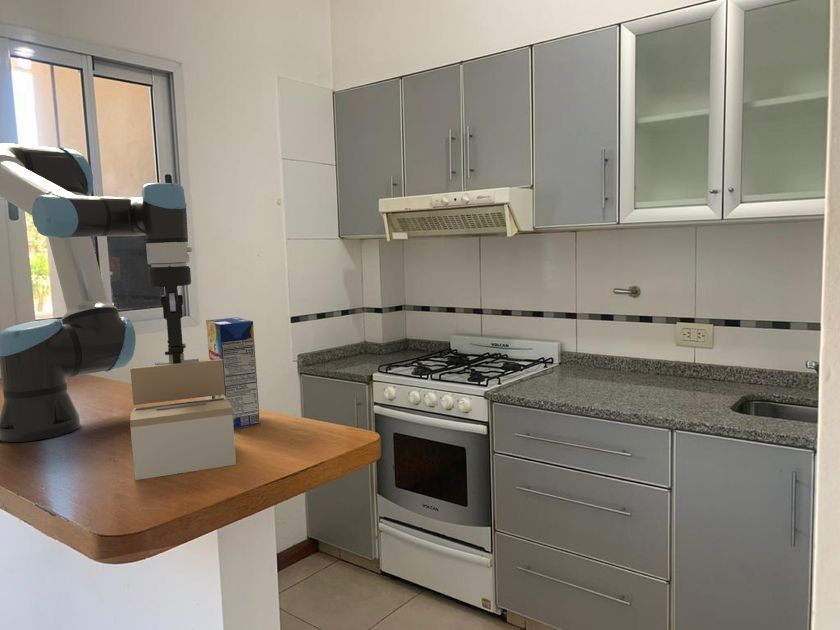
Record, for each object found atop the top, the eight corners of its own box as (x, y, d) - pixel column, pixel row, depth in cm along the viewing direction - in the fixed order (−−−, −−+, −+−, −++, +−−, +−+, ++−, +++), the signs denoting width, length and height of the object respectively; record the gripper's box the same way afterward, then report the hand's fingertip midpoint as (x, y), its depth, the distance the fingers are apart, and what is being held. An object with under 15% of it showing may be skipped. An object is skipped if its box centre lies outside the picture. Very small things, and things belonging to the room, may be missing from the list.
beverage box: (227, 430, 133) (220, 324, 130) (213, 419, 142) (205, 320, 140) (260, 424, 136) (253, 321, 134) (243, 414, 146) (237, 317, 143)
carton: (138, 455, 118) (133, 400, 117) (228, 442, 124) (224, 390, 123) (135, 480, 105) (129, 418, 104) (236, 464, 111) (231, 406, 110)
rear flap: (133, 405, 117) (135, 396, 124) (225, 394, 123) (221, 386, 130) (130, 368, 116) (132, 361, 123) (222, 359, 122) (219, 353, 129)
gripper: (191, 265, 117) (201, 391, 119) (188, 263, 133) (196, 374, 136) (147, 267, 114) (157, 396, 117) (148, 265, 131) (157, 378, 133)
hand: (178, 384), depth 126 cm, fingers open, 5 cm apart
